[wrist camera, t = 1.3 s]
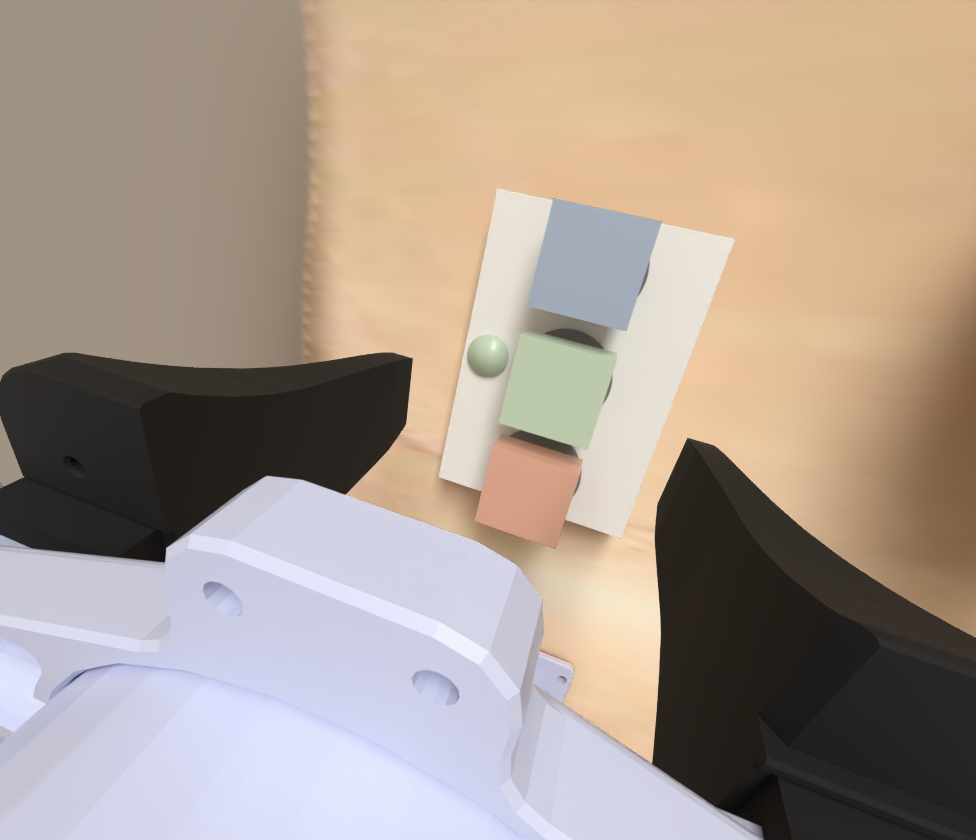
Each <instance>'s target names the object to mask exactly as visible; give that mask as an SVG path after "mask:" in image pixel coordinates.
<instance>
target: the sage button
mask: <svg viewBox="0 0 976 840" xmlns="http://www.w3.org/2000/svg"><path fill="white" fill-rule="evenodd" d="M616 362H617V353H615V352H611V351H608V350H604V349H600V348H596V347H592V346H589V345H585V344H581V343H577V342H574V341H570V340H566V339H562V338H559V337H555V336H551V335H547V334H544V333H540V332H536V331H532V330H529V329H528V330H526V331H524V332H523V333H521V334H520V337H519V341H518V345H517V349H516V353H515V357H514V361H513V366H512V370H511V374H510V378H509V382H508V386H507V390H506V394H505V398H504V402H503V406H502V411H501V415H500V419H499V423H500V424H503V425H507V426H510V427H513V428H516V429H520V430H523V431H526V432H529V433H533V434H536V435H539V436H542V437H546V438H549V439H552V440H555V441H559V442H562V443H565V444H569V445H572V446H575V447H578V448H582V449H585V450H588V448H589V445H590V442H591V439H592V436H593V433H594V429H595V426H596V423H597V420H598V417H599V414H600V411H601V408H602V405H603V402H604V399H605V396H606V393H607V389H608V386H609V383H610V380H611V377H612V374H613V371H614V368H615V365H616Z"/></svg>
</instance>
